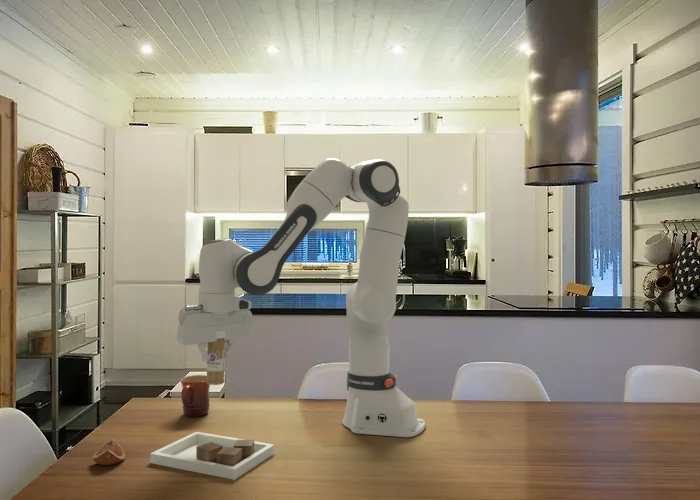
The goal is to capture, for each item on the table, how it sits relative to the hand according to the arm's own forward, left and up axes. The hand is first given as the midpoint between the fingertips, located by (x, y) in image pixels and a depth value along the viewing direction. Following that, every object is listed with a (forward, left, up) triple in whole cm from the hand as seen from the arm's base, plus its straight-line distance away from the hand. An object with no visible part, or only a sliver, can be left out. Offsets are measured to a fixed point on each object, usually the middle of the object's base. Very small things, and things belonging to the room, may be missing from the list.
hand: (216, 359), depth 144 cm
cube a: (-15, +16, -20) cm, 29 cm away
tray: (-8, +12, -20) cm, 25 cm away
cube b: (-10, +15, -20) cm, 27 cm away
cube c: (-15, +10, -20) cm, 27 cm away
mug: (+18, -14, -21) cm, 31 cm away
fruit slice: (+12, +23, -21) cm, 33 cm away
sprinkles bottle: (0, 0, -6) cm, 6 cm away
